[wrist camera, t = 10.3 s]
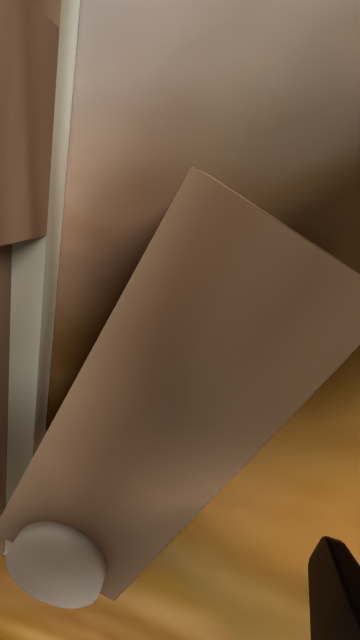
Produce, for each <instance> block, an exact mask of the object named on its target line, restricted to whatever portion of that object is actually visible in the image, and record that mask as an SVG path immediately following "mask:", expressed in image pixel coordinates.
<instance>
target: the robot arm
mask: <svg viewBox="0 0 360 640" xmlns="http://www.w3.org/2000/svg"><path fill="white" fill-rule="evenodd" d="M308 578H309V604H310V629H311V640H360V565H359V564H358V562H357V561H356V559H355V558H354V557H353V555H352V554H351V552H350V551H349V549H348V548H347V546H346V545H345V544H344V543H343V542H342V541H340V540H338V539H334V538H331V537H328V536H324V537H322V538H321V539H320V541H319V543H318V544H317V546H316V548H315V549H314V551H313V553H312V555H311V556H310V559H309V563H308Z"/></svg>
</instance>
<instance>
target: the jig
mask: <svg viewBox="0 0 360 640" xmlns="http://www.w3.org/2000/svg"><path fill="white" fill-rule="evenodd" d="M79 9H80V0H0V517H1V515H2V513H3V511H4V509H5V508H6V506H7V504H8V502H9V500H10V498H11V497H12V495H13V493H14V491H15V489H16V487H17V486H18V484H19V482H20V480H21V478H22V476H23V475H24V473H25V471H26V469H27V467H28V465H29V464H30V462H31V460H32V458H33V456H34V454H35V453H36V451H37V449H38V447H39V445H40V443H41V441H42V440H43V438H44V436H45V431H46V419H47V406H48V394H49V382H50V369H51V357H52V344H53V332H54V320H55V307H56V295H57V282H58V270H59V257H60V245H61V233H62V220H63V208H64V195H65V183H66V171H67V158H68V146H69V133H70V121H71V108H72V96H73V84H74V71H75V59H76V46H77V34H78V22H79ZM12 544H13V543H11V542H10V541H8V540H6V539H4V538H3V537H1V536H0V558H1V556H2V555H6V554H7V552H8V550H9V548H10V547H11V545H12Z"/></svg>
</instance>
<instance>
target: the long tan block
mask: <svg viewBox="0 0 360 640" xmlns="http://www.w3.org/2000/svg"><path fill="white" fill-rule="evenodd" d="M359 345H360V273H358V272H357V271H355V270H354V269H352V268H351V267H350V266H348V265H347V264H345V263H344V262H342V261H341V260H339V259H338V258H337V257H335V256H333V255H332V254H330V253H329V252H327V251H326V250H324V249H323V248H321V247H320V246H318V245H317V244H315V243H314V242H312V241H310V240H309V239H307V238H306V237H304V236H303V235H301V234H300V233H298V232H297V231H295V230H294V229H292V228H291V227H289V226H287V225H286V224H284V223H283V222H281V221H280V220H278V219H277V218H275V217H274V216H272V215H271V214H269V213H268V212H266V211H265V210H263V209H261V208H260V207H258V206H257V205H255V204H254V203H252V202H251V201H249V200H248V199H246V198H245V197H243V196H242V195H240V194H238V193H237V192H235V191H234V190H232V189H231V188H229V187H228V186H226V185H225V184H223V183H222V182H220V181H219V180H217V179H215V178H214V177H212V176H211V175H209V174H207V173H205V172H203V171H201V170H199V169H197V168H195V167H193V166H191V168H190V170H189V172H188V174H187V175H186V177H185V179H184V181H183V183H182V185H181V186H180V188H179V190H178V192H177V194H176V196H175V197H174V199H173V201H172V203H171V205H170V207H169V208H168V210H167V212H166V214H165V216H164V218H163V219H162V221H161V223H160V225H159V227H158V229H157V230H156V232H155V234H154V236H153V238H152V240H151V241H150V243H149V245H148V247H147V249H146V251H145V252H144V254H143V256H142V258H141V260H140V262H139V263H138V265H137V267H136V269H135V271H134V273H133V274H132V276H131V278H130V280H129V282H128V284H127V285H126V287H125V289H124V291H123V293H122V295H121V297H120V298H119V300H118V302H117V304H116V306H115V308H114V309H113V311H112V313H111V315H110V317H109V319H108V320H107V322H106V324H105V326H104V328H103V330H102V331H101V333H100V335H99V337H98V339H97V341H96V342H95V344H94V346H93V348H92V350H91V352H90V353H89V355H88V357H87V359H86V361H85V363H84V364H83V366H82V368H81V370H80V372H79V374H78V375H77V377H76V379H75V381H74V383H73V385H72V386H71V388H70V390H69V392H68V394H67V396H66V397H65V399H64V401H63V403H62V405H61V407H60V408H59V410H58V412H57V414H56V416H55V418H54V419H53V421H52V423H51V425H50V427H49V429H48V430H47V432H46V434H45V436H44V438H43V440H42V441H41V443H40V445H39V447H38V449H37V451H36V453H35V454H34V456H33V458H32V460H31V462H30V464H29V465H28V467H27V469H26V471H25V473H24V475H23V476H22V478H21V480H20V482H19V484H18V486H17V487H16V489H15V491H14V493H13V495H12V497H11V498H10V500H9V502H8V504H7V506H6V508H5V509H4V511H3V513H2V515H1V517H0V536H1V537H3V538H4V539H6V540H8V541H10V542H11V543H13V544H12V545H11V547H10V548H9V550H8V552H7V554H6V567H7V570H8V572H9V574H10V576H11V577H12V579H13V580H14V581H15V583H16V584H17V585H18V586H19V587H20V588H21V589H23V590H24V591H25V592H26V593H28V594H29V595H31V596H32V597H34V598H36V599H38V600H40V601H42V602H44V603H46V604H49V605H52V606H56V607H61V608H81V607H85V606H88V605H90V604H91V603H93V602H94V601H95V600H96V599H97V598H98V596H99V593H101V594H103V595H105V596H106V597H108V598H110V599H112V600H113V601H115V600H116V599H117V598H118V597H119V595H120V594H121V593H122V592H123V591H124V590H125V589H126V588H127V587H128V586H129V585H130V584H131V583H132V582H133V581H134V580H135V579H136V578H137V577H138V576H139V575H140V574H141V573H142V572H143V570H144V569H145V568H146V567H147V566H148V565H149V564H150V563H151V562H152V561H153V560H154V559H155V558H156V557H157V556H158V555H159V554H160V553H161V552H162V551H163V550H164V549H165V548H166V547H167V545H168V544H169V543H170V542H171V541H172V540H173V539H174V538H175V537H176V536H177V535H178V534H179V533H180V532H181V531H182V530H183V529H184V528H185V527H186V526H187V525H188V524H189V523H190V522H191V520H192V519H193V518H194V517H195V516H196V515H197V514H198V513H199V512H200V511H201V510H202V509H203V508H204V507H205V506H206V505H207V504H208V503H209V502H210V501H211V500H212V499H213V498H214V496H215V495H216V494H217V493H218V492H219V491H220V490H221V489H222V488H223V487H224V486H225V485H226V484H227V483H228V482H229V481H230V480H231V479H232V478H233V477H234V476H235V475H236V474H237V473H238V471H239V470H240V469H241V468H242V467H243V466H244V465H245V464H246V463H247V462H248V461H249V460H250V459H251V458H252V457H253V456H254V455H255V454H256V453H257V452H258V451H259V450H260V449H261V448H262V446H263V445H264V444H265V443H266V442H267V441H268V440H269V439H270V438H271V437H272V436H273V435H274V434H275V433H276V432H277V431H278V430H279V429H280V428H281V427H282V426H283V425H284V424H285V423H286V421H287V420H288V419H289V418H290V417H291V416H292V415H293V414H294V413H295V412H296V411H297V410H298V409H299V408H300V407H301V406H302V405H303V404H304V403H305V402H306V401H307V400H308V399H309V398H310V396H311V395H312V394H313V393H314V392H315V391H316V390H317V389H318V388H319V387H320V386H321V385H322V384H323V383H324V382H325V381H326V380H327V379H328V378H329V377H330V376H331V375H332V374H333V372H334V371H335V370H336V369H337V368H338V367H339V366H340V365H341V364H342V363H343V362H344V361H345V360H346V359H347V358H348V357H349V356H350V355H351V354H352V353H353V352H354V351H355V350H356V349H357V347H358V346H359Z"/></svg>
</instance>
